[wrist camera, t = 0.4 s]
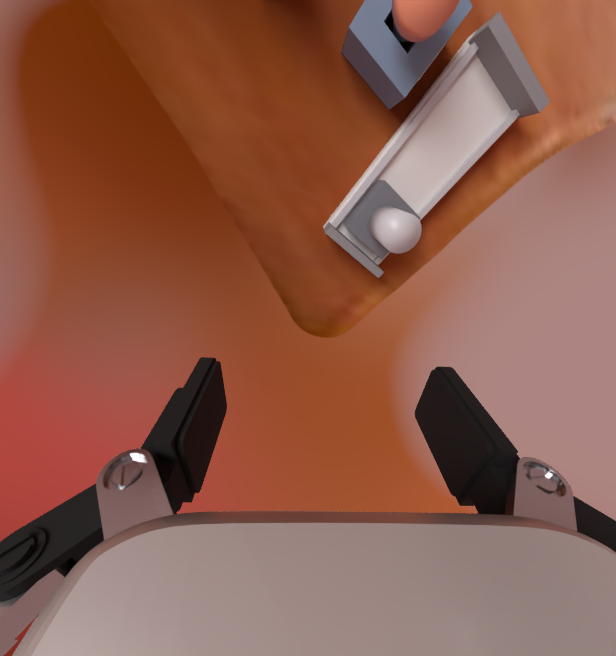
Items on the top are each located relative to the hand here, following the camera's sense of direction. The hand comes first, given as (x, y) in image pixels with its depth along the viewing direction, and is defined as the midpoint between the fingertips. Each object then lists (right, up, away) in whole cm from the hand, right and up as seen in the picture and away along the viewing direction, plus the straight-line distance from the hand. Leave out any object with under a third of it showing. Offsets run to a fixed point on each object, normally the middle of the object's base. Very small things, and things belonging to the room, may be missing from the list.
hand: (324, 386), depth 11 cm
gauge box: (+7, +30, +13) cm, 34 cm away
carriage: (+8, +16, +20) cm, 27 cm away
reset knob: (+7, +28, +10) cm, 31 cm away
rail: (+12, +21, +19) cm, 31 cm away
